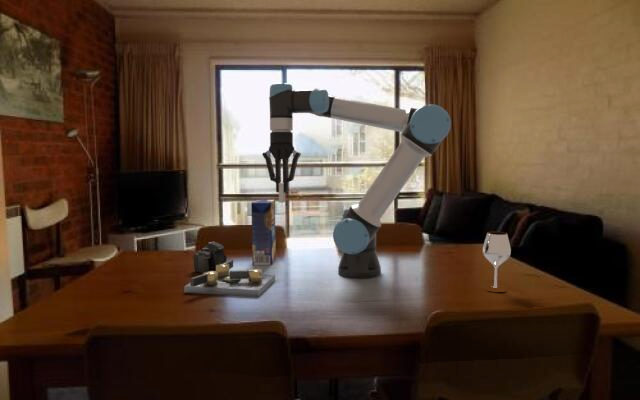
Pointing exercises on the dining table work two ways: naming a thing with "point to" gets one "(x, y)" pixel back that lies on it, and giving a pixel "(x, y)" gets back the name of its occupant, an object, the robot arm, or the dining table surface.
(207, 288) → the level plate
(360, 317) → the dining table surface
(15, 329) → the dining table surface
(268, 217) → the juice carton
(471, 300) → the dining table surface
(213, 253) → the camera
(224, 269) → the knob far
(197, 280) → the knob near
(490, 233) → the wineglass
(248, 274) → the knob arm
